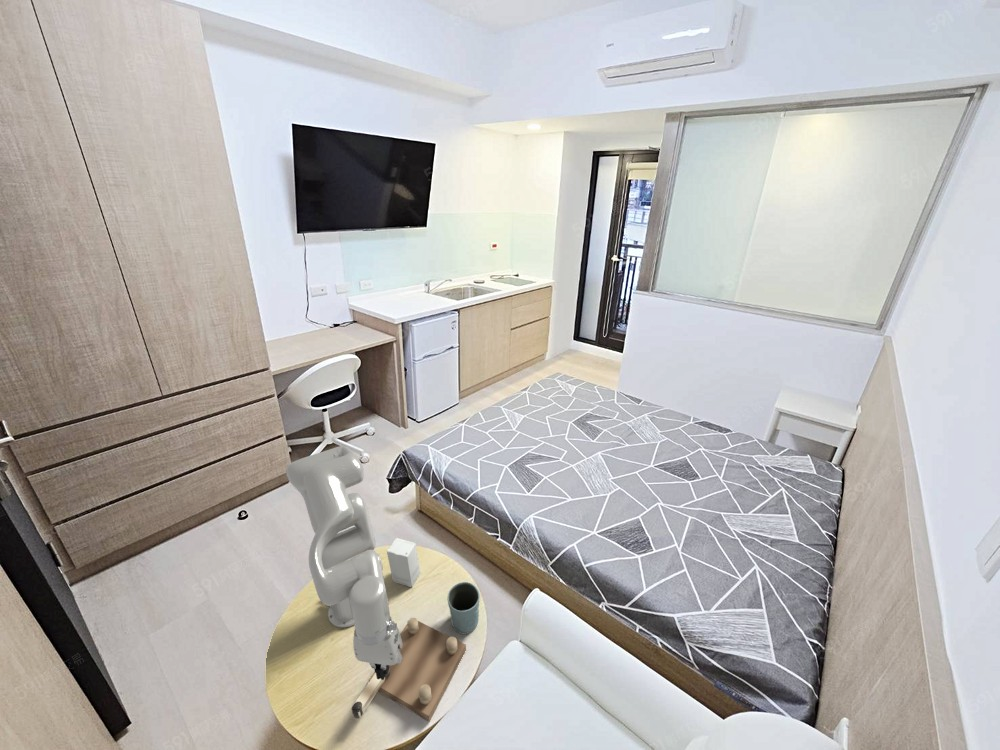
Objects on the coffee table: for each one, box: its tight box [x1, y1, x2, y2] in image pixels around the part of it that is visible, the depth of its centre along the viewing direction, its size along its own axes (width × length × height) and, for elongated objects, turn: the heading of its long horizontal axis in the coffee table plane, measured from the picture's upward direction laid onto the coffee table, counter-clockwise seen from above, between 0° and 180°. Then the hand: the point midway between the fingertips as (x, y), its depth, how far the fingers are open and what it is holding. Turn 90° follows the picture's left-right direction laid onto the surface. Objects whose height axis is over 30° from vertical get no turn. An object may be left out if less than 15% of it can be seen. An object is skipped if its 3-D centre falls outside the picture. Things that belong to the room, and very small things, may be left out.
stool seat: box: [368, 617, 467, 723], centre depth 117 cm, size 20×20×6 cm
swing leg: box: [350, 669, 390, 719], centre depth 109 cm, size 13×3×3 cm, turn 155°
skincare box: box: [386, 537, 421, 588], centre depth 142 cm, size 8×7×16 cm
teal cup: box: [446, 581, 480, 635], centre depth 129 cm, size 10×10×12 cm
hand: (382, 672), depth 98 cm, fingers closed
